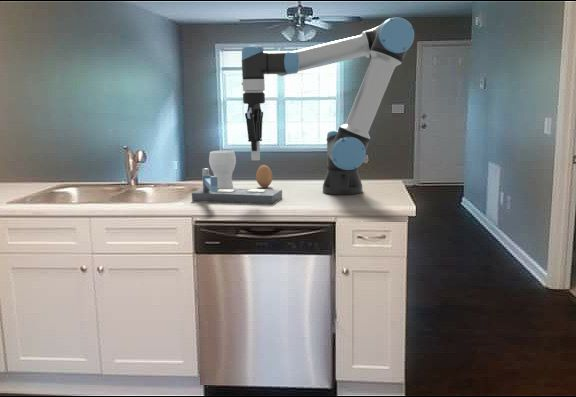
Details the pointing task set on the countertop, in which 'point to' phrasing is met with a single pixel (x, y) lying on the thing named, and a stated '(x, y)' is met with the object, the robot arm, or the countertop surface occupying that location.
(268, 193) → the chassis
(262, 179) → the egg
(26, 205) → the countertop surface
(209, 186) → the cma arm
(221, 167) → the cup
